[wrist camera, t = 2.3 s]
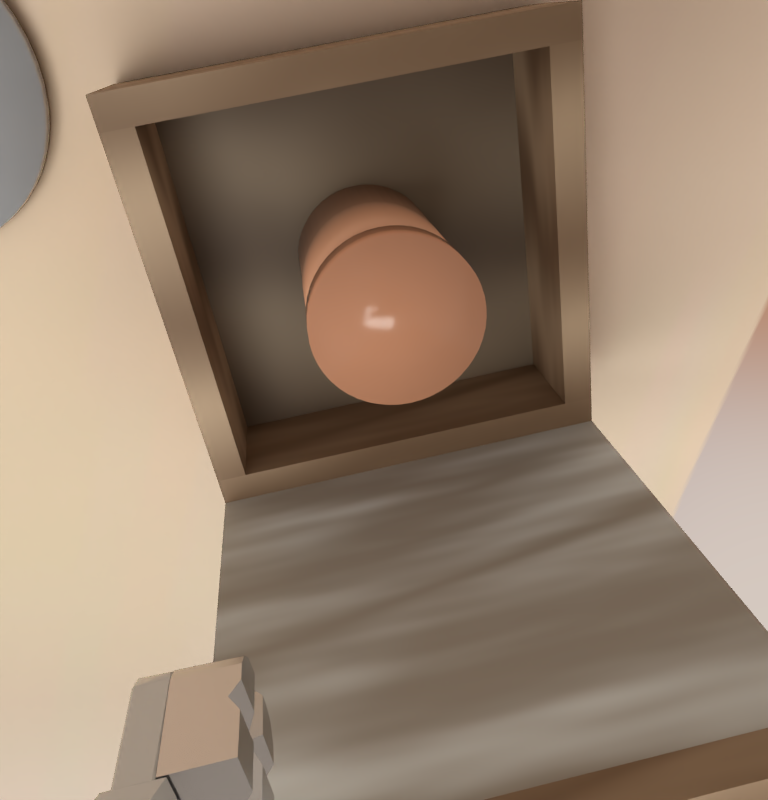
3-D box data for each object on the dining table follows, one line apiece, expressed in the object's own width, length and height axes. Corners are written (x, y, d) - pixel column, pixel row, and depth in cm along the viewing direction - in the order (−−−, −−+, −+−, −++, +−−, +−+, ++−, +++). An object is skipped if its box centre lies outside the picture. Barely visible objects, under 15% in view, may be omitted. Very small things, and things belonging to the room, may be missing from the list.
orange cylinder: (282, 198, 24) (288, 256, 18) (424, 170, 25) (477, 217, 19) (313, 331, 27) (327, 420, 21) (442, 304, 27) (494, 384, 21)
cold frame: (106, 85, 23) (-254, 221, 7) (540, 3, 23) (1114, -47, 8) (230, 462, 30) (193, 952, 14) (558, 389, 30) (874, 775, 15)
